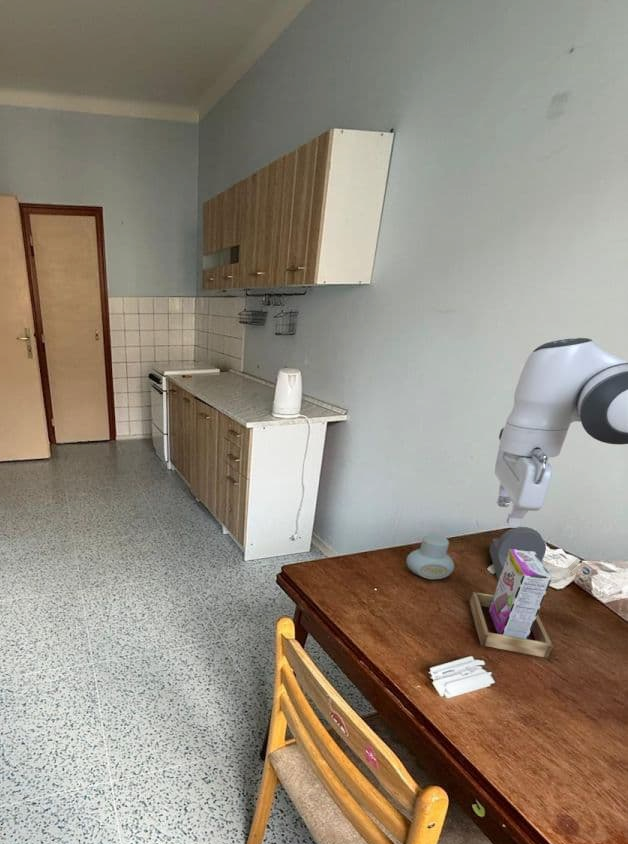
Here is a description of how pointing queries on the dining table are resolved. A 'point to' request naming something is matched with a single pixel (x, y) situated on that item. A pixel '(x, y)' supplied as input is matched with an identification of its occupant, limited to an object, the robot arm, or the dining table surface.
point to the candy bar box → (519, 594)
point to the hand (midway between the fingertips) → (507, 514)
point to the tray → (508, 642)
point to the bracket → (515, 545)
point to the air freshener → (431, 558)
